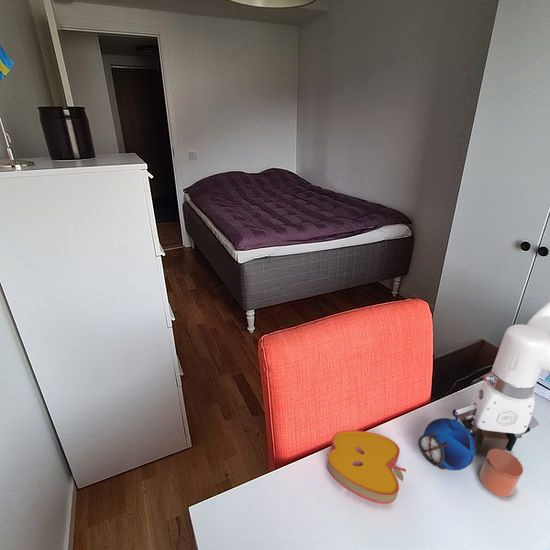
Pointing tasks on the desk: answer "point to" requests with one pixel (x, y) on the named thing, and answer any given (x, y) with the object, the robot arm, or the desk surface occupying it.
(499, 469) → the terracotta pot
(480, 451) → the walnut block
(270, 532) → the desk surface
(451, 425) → the bomb
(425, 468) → the desk surface
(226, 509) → the desk surface
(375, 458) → the decorative object
